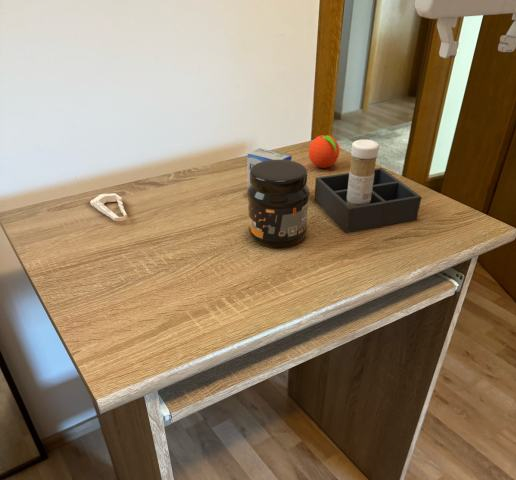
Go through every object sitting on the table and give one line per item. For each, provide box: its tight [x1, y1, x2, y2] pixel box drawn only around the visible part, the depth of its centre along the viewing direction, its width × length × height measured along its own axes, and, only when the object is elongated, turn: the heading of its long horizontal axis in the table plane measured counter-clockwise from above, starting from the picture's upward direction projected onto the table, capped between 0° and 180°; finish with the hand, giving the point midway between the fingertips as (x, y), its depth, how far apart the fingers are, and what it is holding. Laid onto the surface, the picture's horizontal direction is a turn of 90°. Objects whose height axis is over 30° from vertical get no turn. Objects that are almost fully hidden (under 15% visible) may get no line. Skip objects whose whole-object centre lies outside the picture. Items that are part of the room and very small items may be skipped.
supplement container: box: [246, 160, 310, 248], centre depth 84 cm, size 10×10×12 cm
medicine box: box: [246, 147, 292, 188], centre depth 98 cm, size 8×4×9 cm, turn 55°
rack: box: [313, 167, 422, 233], centre depth 94 cm, size 15×15×5 cm
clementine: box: [308, 134, 340, 169], centre depth 109 cm, size 8×7×7 cm
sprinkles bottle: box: [346, 139, 380, 207], centre depth 87 cm, size 5×5×13 cm
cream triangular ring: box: [89, 192, 128, 222], centre depth 96 cm, size 13×5×2 cm, turn 38°
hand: (476, 54), depth 66 cm, fingers open, 8 cm apart
